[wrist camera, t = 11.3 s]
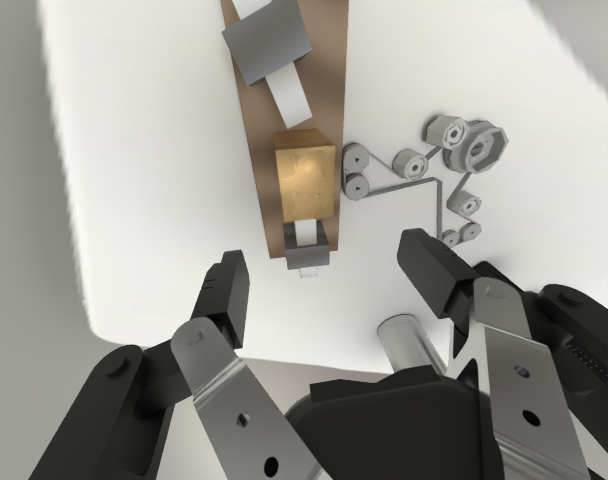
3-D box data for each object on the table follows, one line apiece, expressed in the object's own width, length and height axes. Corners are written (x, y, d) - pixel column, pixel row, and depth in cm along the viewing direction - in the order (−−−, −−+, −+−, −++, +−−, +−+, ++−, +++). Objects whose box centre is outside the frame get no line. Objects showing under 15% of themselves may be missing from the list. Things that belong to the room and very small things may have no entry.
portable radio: (489, 255, 39) (722, 435, 19) (500, 269, 42) (715, 440, 22) (450, 280, 42) (616, 461, 22) (463, 292, 45) (621, 462, 25)
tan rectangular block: (317, 184, 26) (333, 216, 19) (281, 187, 26) (284, 222, 19) (316, 128, 22) (335, 145, 16) (274, 131, 22) (275, 150, 16)
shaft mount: (335, 244, 33) (348, 276, 28) (270, 252, 33) (269, 286, 27) (344, -20, 18) (378, -70, 12) (220, -16, 17) (194, -66, 11)
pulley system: (399, 46, 21) (320, 180, 28) (431, 35, 18) (331, 194, 24) (523, 172, 33) (447, 248, 39) (559, 182, 29) (468, 265, 35)
